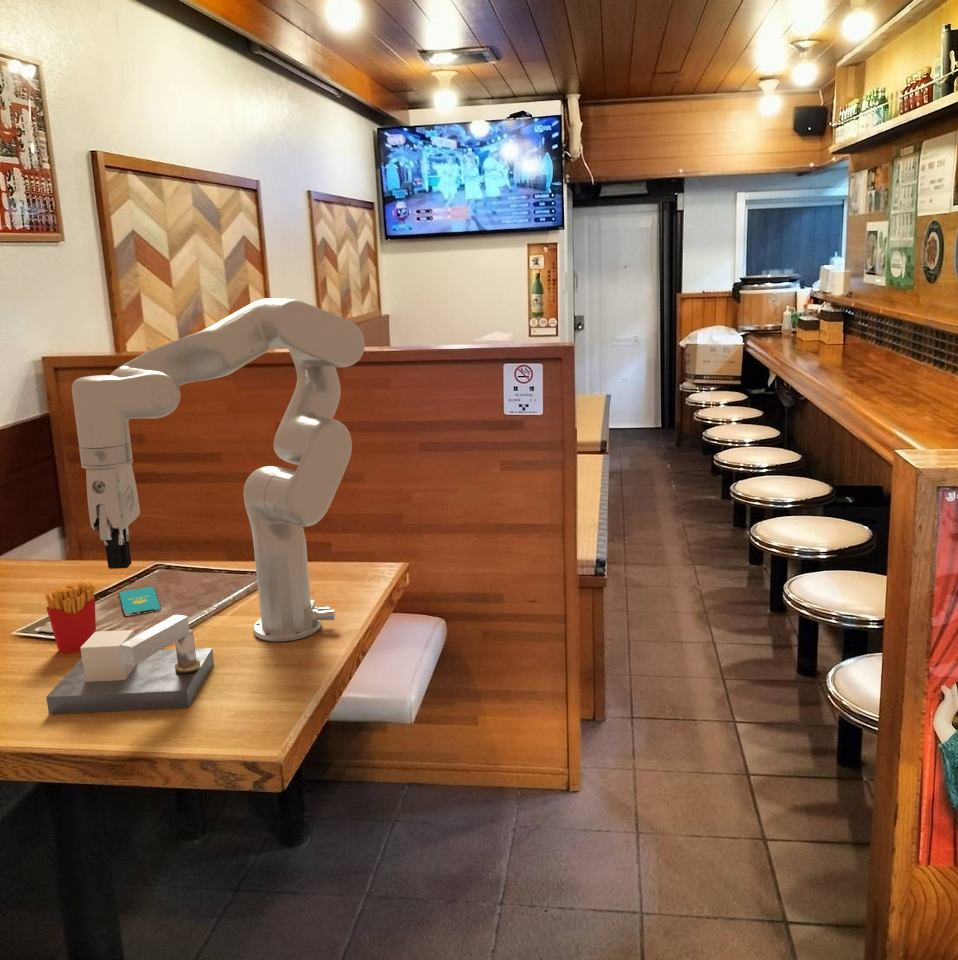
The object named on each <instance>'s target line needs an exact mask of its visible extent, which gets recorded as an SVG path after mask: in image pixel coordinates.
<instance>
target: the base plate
mask: <svg viewBox="0 0 958 960" xmlns="http://www.w3.org/2000/svg"><path fill="white" fill-rule="evenodd" d="M195 651H196V660H199V661H200V668H199V669H197V670H195V671H193V672H189V673H179V672H176V670H175V665H176V664H177V663H178V661H177V654H176V649H162V650H160V651H159V652H157V653H155V654H153V655H152V656H150V657H148V658H147V659H145V660H143V661H141V662H140V663H138V664H137V665H136V666H135V668H134V669H133V670H132V672H131V673H130V674H129V676H128V677H127V678H126V680H114V681H93V682H85V675H84V669H83V662H82V657H81V658H80V659H79V660H78V661H77V662H76V664H75V665H73V667H72V668H71V669H70V670H69V671H68V672H67V673H66V674H65V676H64V677H63V678H62V679H61V680H60V681H59V682H58V683H57V685H55V686H54V688H53V689H52V690H51V691H50V692H49V693H48V695H47V696H46V697H45V698H46V704H47V710H48V714H49V715H60V714H62V715H63V714H84V713H103V712H104V713H106V712H126V711H129V712H130V711H146V710H147V711H150V710H169V709H171V710H173V709H189V708H190V706H191V704H192V703H193V701H194V700H195V698H196V696H197V694H198V693H199V691H200V689H201V687H202V686H201V685H203V684H204V682H205V681H206V679H207V676H208V675H209V674H210V672H211V669H212V668H213V667H214V665H215V658H214V651H213V647H205V648H203V647H202V648H201V647H200V648H198V647H197V648H195ZM213 664H214V665H213ZM209 671H210V672H209Z"/></svg>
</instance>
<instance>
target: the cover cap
mask: <svg viewBox="0 0 958 960" xmlns="http://www.w3.org/2000/svg"><path fill="white" fill-rule="evenodd" d="M134 630H135V629H128V630H126V629H124V630H103V631H102V630H101V631H96V632H94V634H93V635H92V636H91V637H90V638H89V639H88V640H87V641H86V642H85V643H84V644H83V645H82V646H81V648H80V649H81V650H80V653H81V658H82V662H83V669H84V675H85V682H93V681H114V680H126V678H127V677H128V676H129V674H130V673H131V672H132V670H133V669H134V668H135V666H136V665H137V664H136V665H130V664H124V663H122V659H121V652H120V644H122V643H124V642H126V641H128V640H129V639H131V638H133V637H135V636H136V635H135V632H134Z"/></svg>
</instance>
